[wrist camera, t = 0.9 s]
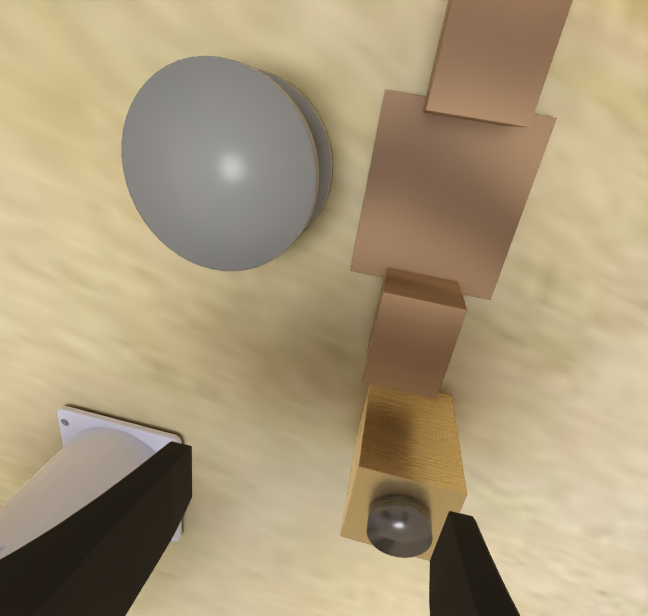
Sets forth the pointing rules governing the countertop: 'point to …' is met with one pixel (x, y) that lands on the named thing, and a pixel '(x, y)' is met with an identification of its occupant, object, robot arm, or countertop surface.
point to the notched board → (453, 183)
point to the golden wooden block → (404, 473)
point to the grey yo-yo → (225, 161)
